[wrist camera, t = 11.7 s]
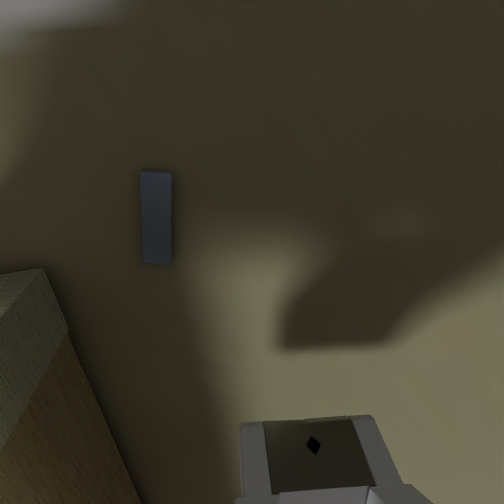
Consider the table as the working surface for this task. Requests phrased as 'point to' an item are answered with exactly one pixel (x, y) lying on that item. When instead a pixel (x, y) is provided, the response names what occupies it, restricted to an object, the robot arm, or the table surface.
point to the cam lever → (50, 408)
